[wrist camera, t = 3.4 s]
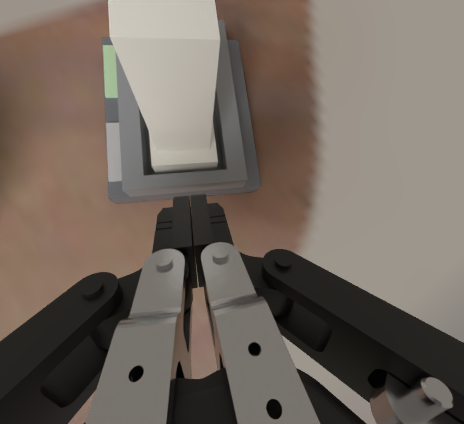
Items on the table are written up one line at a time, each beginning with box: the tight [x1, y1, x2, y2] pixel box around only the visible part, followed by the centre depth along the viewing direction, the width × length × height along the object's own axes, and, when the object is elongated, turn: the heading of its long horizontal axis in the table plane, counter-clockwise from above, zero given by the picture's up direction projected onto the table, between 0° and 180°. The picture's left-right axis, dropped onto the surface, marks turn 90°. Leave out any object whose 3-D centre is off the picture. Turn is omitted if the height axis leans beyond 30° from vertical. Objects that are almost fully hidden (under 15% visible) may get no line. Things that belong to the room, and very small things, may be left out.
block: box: [108, 0, 220, 175], centre depth 11 cm, size 4×4×9 cm
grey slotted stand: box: [102, 20, 261, 204], centre depth 16 cm, size 10×12×3 cm
